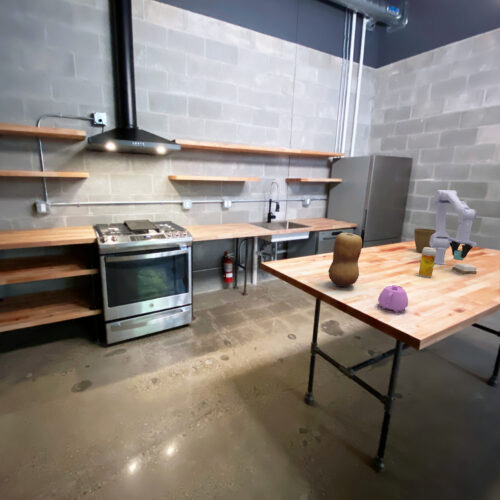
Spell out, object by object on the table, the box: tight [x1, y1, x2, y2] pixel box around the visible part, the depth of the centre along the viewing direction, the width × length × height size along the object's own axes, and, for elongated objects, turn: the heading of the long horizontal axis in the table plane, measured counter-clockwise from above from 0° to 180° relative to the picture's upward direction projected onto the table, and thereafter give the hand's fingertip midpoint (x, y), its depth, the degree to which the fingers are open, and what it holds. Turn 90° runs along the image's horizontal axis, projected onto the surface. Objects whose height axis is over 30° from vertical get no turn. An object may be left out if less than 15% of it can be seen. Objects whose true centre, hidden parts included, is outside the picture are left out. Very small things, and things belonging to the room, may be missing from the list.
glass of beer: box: [418, 247, 436, 278], centre depth 155 cm, size 6×6×15 cm
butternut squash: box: [327, 232, 363, 288], centre depth 137 cm, size 14×13×25 cm
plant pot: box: [413, 228, 438, 254], centre depth 207 cm, size 15×15×16 cm
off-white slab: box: [454, 263, 478, 271], centre depth 165 cm, size 7×7×2 cm
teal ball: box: [452, 249, 465, 261], centre depth 161 cm, size 5×5×5 cm
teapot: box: [377, 284, 409, 314], centre depth 116 cm, size 10×15×9 cm
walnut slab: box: [451, 266, 478, 275], centre depth 166 cm, size 8×8×2 cm
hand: (458, 256), depth 161 cm, fingers closed on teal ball, 5 cm apart
